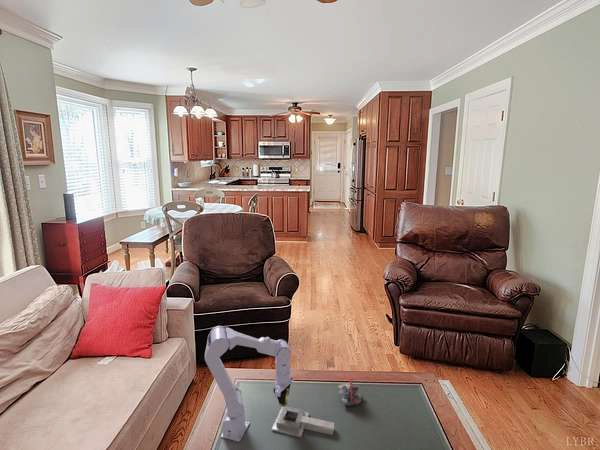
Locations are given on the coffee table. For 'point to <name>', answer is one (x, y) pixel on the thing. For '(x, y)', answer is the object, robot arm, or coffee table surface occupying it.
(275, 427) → the white stepped square fixture
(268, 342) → the robot arm
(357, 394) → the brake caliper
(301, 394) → the coffee table surface
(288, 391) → the pin
